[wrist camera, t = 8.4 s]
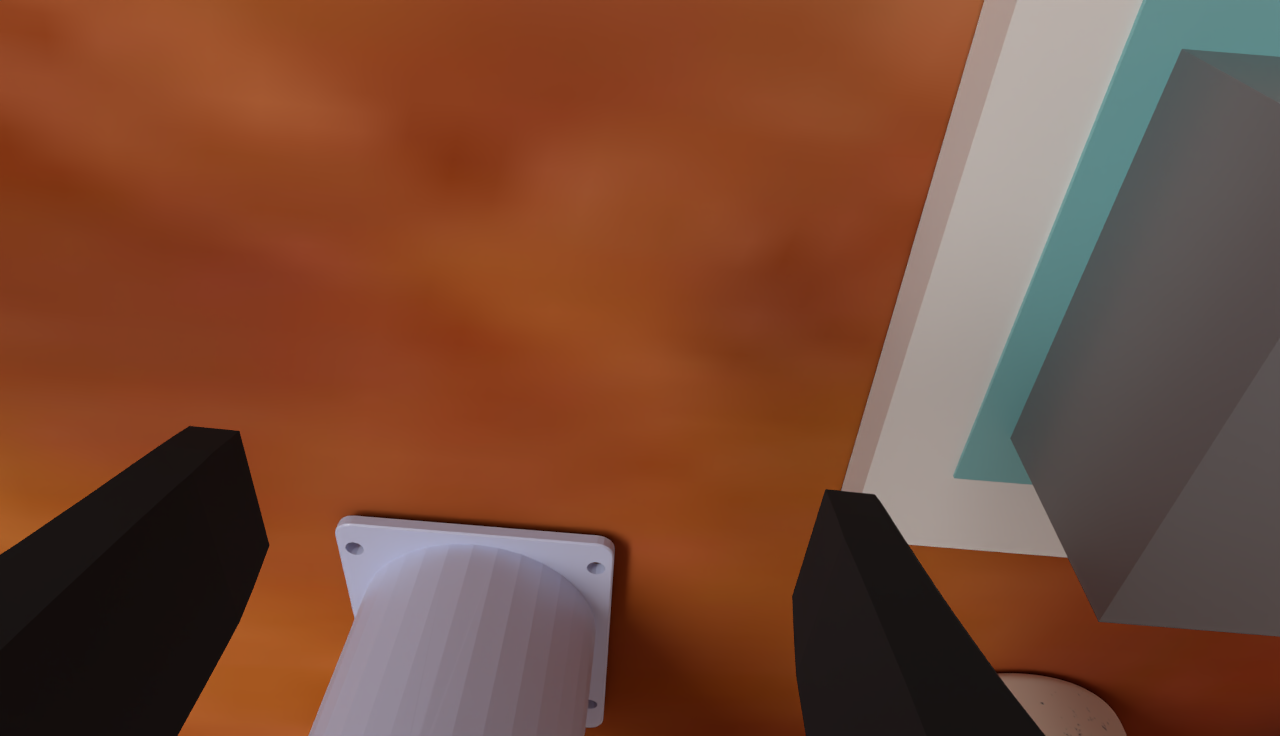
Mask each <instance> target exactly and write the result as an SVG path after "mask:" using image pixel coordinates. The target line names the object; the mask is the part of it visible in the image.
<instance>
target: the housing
mask: <svg viewBox="0 0 1280 736" xmlns="http://www.w3.org/2000/svg"><path fill="white" fill-rule="evenodd" d="M1010 439H1011V441H1012V443H1013V445H1014V447H1015V449H1016V451H1017V453H1018V455H1019V457H1020V460H1021V462H1022V464H1023V466H1024V468H1025V470H1026V472H1027V474H1028V476H1029V478H1030V480H1031V482H1032V484H1033V486H1034V489H1035V491H1036V493H1037V495H1038V497H1039V499H1040V501H1041V503H1042V505H1043V507H1044V509H1045V511H1046V513H1047V515H1048V518H1049V520H1050V522H1051V524H1052V526H1053V528H1054V530H1055V532H1056V534H1057V536H1058V538H1059V540H1060V542H1061V544H1062V547H1063V549H1064V551H1065V553H1066V555H1067V557H1068V559H1069V561H1070V563H1071V565H1072V567H1073V569H1074V571H1075V573H1076V576H1077V578H1078V580H1079V582H1080V584H1081V586H1082V588H1083V590H1084V592H1085V594H1086V596H1087V598H1088V600H1089V602H1090V605H1091V607H1092V609H1093V611H1094V613H1095V615H1096V617H1097V619H1098V621H1099V622H1109V623H1121V624H1133V625H1145V626H1158V627H1170V628H1182V629H1194V630H1206V631H1219V632H1231V633H1243V634H1255V635H1268V636H1280V57H1276V56H1264V55H1251V54H1239V53H1227V52H1214V51H1202V50H1189V49H1182V50H1181V52H1180V54H1179V56H1178V59H1177V61H1176V63H1175V65H1174V68H1173V70H1172V72H1171V74H1170V77H1169V79H1168V81H1167V84H1166V86H1165V88H1164V90H1163V93H1162V95H1161V97H1160V99H1159V102H1158V104H1157V106H1156V109H1155V111H1154V113H1153V115H1152V118H1151V120H1150V122H1149V124H1148V127H1147V129H1146V131H1145V134H1144V136H1143V138H1142V140H1141V143H1140V145H1139V147H1138V149H1137V152H1136V154H1135V156H1134V158H1133V161H1132V163H1131V165H1130V168H1129V170H1128V172H1127V174H1126V177H1125V179H1124V181H1123V183H1122V186H1121V188H1120V190H1119V193H1118V195H1117V197H1116V199H1115V202H1114V204H1113V206H1112V208H1111V211H1110V213H1109V215H1108V217H1107V220H1106V222H1105V224H1104V227H1103V229H1102V231H1101V233H1100V236H1099V238H1098V240H1097V242H1096V245H1095V247H1094V249H1093V252H1092V254H1091V256H1090V258H1089V261H1088V263H1087V265H1086V267H1085V270H1084V272H1083V274H1082V277H1081V279H1080V281H1079V283H1078V286H1077V288H1076V290H1075V292H1074V295H1073V297H1072V299H1071V301H1070V304H1069V306H1068V308H1067V311H1066V313H1065V315H1064V317H1063V320H1062V322H1061V324H1060V326H1059V329H1058V331H1057V333H1056V336H1055V338H1054V340H1053V342H1052V345H1051V347H1050V349H1049V351H1048V354H1047V356H1046V358H1045V360H1044V363H1043V365H1042V367H1041V370H1040V372H1039V374H1038V376H1037V379H1036V381H1035V383H1034V385H1033V388H1032V390H1031V392H1030V395H1029V397H1028V399H1027V401H1026V404H1025V406H1024V408H1023V410H1022V413H1021V415H1020V417H1019V420H1018V422H1017V424H1016V426H1015V429H1014V431H1013V433H1012V435H1011V438H1010Z"/></svg>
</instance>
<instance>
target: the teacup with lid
mask: <svg viewBox="0 0 1280 736" xmlns="http://www.w3.org/2000/svg"><path fill="white" fill-rule="evenodd" d="M997 674H998V675H999V677H1000V678H1001V679H1002V681H1003V682H1004V683H1005V685H1006V686H1007V687H1008V689H1009V690H1010V691H1011V692H1012V694H1013V695H1014V696H1015V698H1016V699H1017V700H1018V701H1019V703H1020V704H1021V705H1022V706H1023V708H1024V709H1025V710H1026V712H1027V713H1028V714H1029V715H1030V717H1031V718H1032V719H1033V720H1034V722H1035V723H1036V724H1037V726H1038V727H1039V728H1040V729H1041V731H1042V732H1043V733H1044V734H1045V736H1127V735H1126V733H1125V731H1124V728H1123V726H1122V724H1121V722H1120V720H1119V719H1118V717H1117V715H1116V714H1115V712H1114V711H1113V710H1112V709H1111V707H1110V706H1109V705H1108V704H1106V703H1105V702H1104V701H1103V700H1102V699H1101V698H1099V697H1098V696H1096V695H1095V694H1094V693H1092V692H1090V691H1088V690H1086V689H1084V688H1082V687H1080V686H1078V685H1075V684H1073V683H1070V682H1067V681H1064V680H1060V679H1056V678H1052V677H1046V676H1041V675H1033V674H1022V673H997Z"/></svg>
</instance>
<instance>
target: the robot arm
mask: <svg viewBox="0 0 1280 736" xmlns="http://www.w3.org/2000/svg"><path fill="white" fill-rule="evenodd" d="M335 535H336V539H337V544H338V548H339V552H340V557H341V561H342V565H343V570H344V574H345V579H346V583H347V587H348V592H349V596H350V600H351V605H352V609H353V613H354V618H355V620H354V622H353V625H352V627H351V630H350V632H349V635H348V638H347V640H346V643H345V645H344V648H343V650H342V653H341V655H340V658H339V660H338V663H337V665H336V668H335V670H334V673H333V675H332V678H331V680H330V683H329V685H328V688H327V690H326V693H325V695H324V698H323V700H322V703H321V705H320V708H319V710H318V713H317V716H316V718H315V721H314V723H313V726H312V728H311V731H310V733H309V736H585V728H586V727H587V728H592V727H597V726H599V725H600V724H602V722H603V716H604V703H605V688H606V673H607V658H608V644H609V629H610V614H611V599H612V584H613V570H614V555H615V547H614V544H613V543H612V541H611V540H609V539H608V538H606V537H603V536H599V535H587V534H575V533H562V532H550V531H538V530H526V529H513V528H501V527H489V526H477V525H464V524H452V523H440V522H428V521H415V520H403V519H391V518H379V517H366V516H346V517H344V518H342V519H341V520H340V521H339V523H338V525H337V528H336V531H335ZM357 543H358V544H357ZM268 548H269V542H268V538H267V535H266V531H265V527H264V523H263V519H262V516H261V512H260V508H259V504H258V500H257V497H256V493H255V489H254V485H253V481H252V478H251V474H250V470H249V466H248V462H247V459H246V455H245V451H244V447H243V443H242V440H241V436H240V432H239V431H234V430H224V429H214V428H204V427H193V426H189V427H187V428H186V429H184V430H183V431H181V432H180V433H178V434H176V435H175V436H173V437H172V438H170V439H169V440H167V441H166V442H164V443H163V444H161V445H160V446H158V447H157V448H156V449H154V450H153V451H151V452H150V453H148V454H147V455H145V456H144V457H142V458H141V459H140V460H138V461H137V462H135V463H134V464H132V465H131V466H130V467H128V468H127V469H125V470H124V471H122V472H121V473H119V474H118V475H117V476H115V477H114V478H112V479H111V480H109V481H108V482H107V483H105V484H104V485H102V486H101V487H99V488H98V489H97V490H95V491H94V492H92V493H91V494H89V495H88V496H87V497H85V498H84V499H82V500H81V501H79V502H78V503H76V504H75V505H73V506H72V507H70V508H69V509H67V510H66V511H65V512H63V513H62V514H60V515H59V516H57V517H56V518H54V519H53V520H51V521H50V522H48V523H47V524H45V525H44V526H43V527H41V528H40V529H38V530H37V531H35V532H34V533H32V534H31V535H29V536H28V537H26V538H25V539H23V540H22V541H21V542H19V543H18V544H16V545H15V546H13V547H12V548H10V549H9V550H7V551H5V552H4V553H2V554H1V555H0V736H178V734H179V732H180V730H181V728H182V726H183V725H184V723H185V721H186V719H187V717H188V716H189V714H190V712H191V710H192V708H193V707H194V705H195V703H196V701H197V699H198V698H199V696H200V694H201V692H202V690H203V688H204V687H205V685H206V683H207V681H208V679H209V678H210V676H211V674H212V672H213V670H214V668H215V666H216V665H217V663H218V661H219V659H220V657H221V655H222V654H223V652H224V650H225V648H226V646H227V644H228V642H229V641H230V639H231V637H232V635H233V633H234V631H235V629H236V627H237V625H238V624H239V622H240V619H241V617H242V614H243V612H244V610H245V607H246V605H247V602H248V600H249V597H250V595H251V593H252V590H253V588H254V585H255V582H256V580H257V577H258V574H259V572H260V569H261V566H262V564H263V561H264V558H265V556H266V553H267V550H268ZM593 562H598V563H599V564H596V563H593ZM792 600H793V624H794V646H795V662H796V677H797V683H798V689H799V696H800V702H801V708H802V714H803V720H804V726H805V732H806V736H1045V734H1044V733H1043V732H1042V731H1041V729H1040V728H1039V727H1038V726H1037V724H1036V723H1035V722H1034V720H1033V719H1032V718H1031V717H1030V715H1029V714H1028V713H1027V712H1026V710H1025V709H1024V708H1023V706H1022V705H1021V704H1020V703H1019V701H1018V700H1017V699H1016V698H1015V696H1014V695H1013V694H1012V692H1011V691H1010V690H1009V689H1008V687H1007V686H1006V685H1005V683H1004V682H1003V681H1002V679H1001V678H1000V677H999V675H998V674H997V673H996V671H995V670H994V669H993V667H992V666H991V665H990V663H989V662H988V661H987V659H986V658H985V656H984V655H983V654H982V652H981V651H980V649H979V648H978V646H977V645H976V644H975V642H974V641H973V639H972V638H971V637H970V635H969V634H968V632H967V631H966V630H965V628H964V627H963V625H962V624H961V623H960V621H959V620H958V618H957V617H956V616H955V614H954V613H953V611H952V610H951V608H950V607H949V606H948V604H947V603H946V601H945V600H944V598H943V597H942V595H941V594H940V592H939V591H938V589H937V588H936V586H935V585H934V583H933V582H932V580H931V579H930V577H929V576H928V574H927V573H926V571H925V570H924V568H923V567H922V565H921V564H920V562H919V561H918V559H917V558H916V556H915V555H914V553H913V551H912V550H911V548H910V547H909V545H908V544H907V542H906V541H905V539H904V537H903V536H902V534H901V533H900V531H899V530H898V528H897V526H896V525H895V523H894V522H893V520H892V519H891V517H890V515H889V514H888V512H887V511H886V509H885V508H884V506H883V504H882V503H881V502H880V500H879V499H878V498H877V496H876V495H875V494H867V493H857V492H847V491H837V490H827V489H826V490H825V493H824V496H823V499H822V503H821V506H820V509H819V512H818V515H817V519H816V522H815V525H814V528H813V531H812V535H811V538H810V541H809V544H808V548H807V551H806V554H805V557H804V560H803V564H802V567H801V570H800V573H799V577H798V580H797V583H796V586H795V589H794V593H793V596H792Z"/></svg>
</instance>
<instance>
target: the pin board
mask: <svg viewBox="0 0 1280 736" xmlns="http://www.w3.org/2000/svg"><path fill="white" fill-rule="evenodd" d="M1182 49H1189V50H1202V51H1214V52H1227V53H1239V54H1251V55H1264V56H1276V57H1280V0H984V4H983V7H982V11H981V14H980V17H979V21H978V24H977V28H976V31H975V35H974V38H973V41H972V45H971V48H970V52H969V55H968V58H967V62H966V65H965V69H964V72H963V76H962V79H961V82H960V86H959V89H958V93H957V96H956V99H955V103H954V106H953V110H952V113H951V117H950V120H949V123H948V127H947V130H946V134H945V137H944V140H943V144H942V147H941V151H940V154H939V158H938V161H937V164H936V168H935V171H934V175H933V178H932V182H931V185H930V188H929V192H928V195H927V199H926V202H925V205H924V209H923V212H922V216H921V219H920V223H919V226H918V229H917V233H916V236H915V240H914V243H913V246H912V250H911V253H910V257H909V260H908V264H907V267H906V270H905V274H904V277H903V281H902V284H901V287H900V291H899V294H898V298H897V301H896V305H895V308H894V311H893V315H892V318H891V322H890V325H889V329H888V332H887V335H886V339H885V342H884V346H883V349H882V352H881V356H880V359H879V363H878V366H877V370H876V373H875V376H874V380H873V383H872V387H871V390H870V393H869V397H868V400H867V404H866V407H865V411H864V414H863V417H862V421H861V424H860V428H859V431H858V435H857V438H856V441H855V445H854V448H853V452H852V455H851V458H850V462H849V465H848V469H847V472H846V476H845V479H844V482H843V486H842V489H841V491H847V492H857V493H867V494H875V495H876V496H877V498H878V499H879V500H880V502H881V503H882V504H883V506H884V508H885V509H886V511H887V512H888V514H889V515H890V517H891V519H892V520H893V522H894V523H895V525H896V526H897V528H898V530H899V531H900V533H901V534H902V536H903V537H904V539H905V541H906V542H907V544H908V545H920V546H932V547H944V548H957V549H969V550H981V551H993V552H1006V553H1018V554H1030V555H1042V556H1055V557H1067V555H1066V553H1065V551H1064V549H1063V547H1062V544H1061V542H1060V540H1059V538H1058V536H1057V534H1056V532H1055V530H1054V528H1053V526H1052V524H1051V522H1050V520H1049V518H1048V515H1047V513H1046V511H1045V509H1044V507H1043V505H1042V503H1041V501H1040V499H1039V497H1038V495H1037V493H1036V491H1035V489H1034V486H1033V484H1032V482H1031V480H1030V478H1029V476H1028V474H1027V472H1026V470H1025V468H1024V466H1023V464H1022V462H1021V460H1020V457H1019V455H1018V453H1017V451H1016V449H1015V447H1014V445H1013V443H1012V441H1011V439H1010V438H1011V435H1012V433H1013V431H1014V429H1015V426H1016V424H1017V422H1018V420H1019V417H1020V415H1021V413H1022V410H1023V408H1024V406H1025V404H1026V401H1027V399H1028V397H1029V395H1030V392H1031V390H1032V388H1033V385H1034V383H1035V381H1036V379H1037V376H1038V374H1039V372H1040V370H1041V367H1042V365H1043V363H1044V360H1045V358H1046V356H1047V354H1048V351H1049V349H1050V347H1051V345H1052V342H1053V340H1054V338H1055V336H1056V333H1057V331H1058V329H1059V326H1060V324H1061V322H1062V320H1063V317H1064V315H1065V313H1066V311H1067V308H1068V306H1069V304H1070V301H1071V299H1072V297H1073V295H1074V292H1075V290H1076V288H1077V286H1078V283H1079V281H1080V279H1081V277H1082V274H1083V272H1084V270H1085V267H1086V265H1087V263H1088V261H1089V258H1090V256H1091V254H1092V252H1093V249H1094V247H1095V245H1096V242H1097V240H1098V238H1099V236H1100V233H1101V231H1102V229H1103V227H1104V224H1105V222H1106V220H1107V217H1108V215H1109V213H1110V211H1111V208H1112V206H1113V204H1114V202H1115V199H1116V197H1117V195H1118V193H1119V190H1120V188H1121V186H1122V183H1123V181H1124V179H1125V177H1126V174H1127V172H1128V170H1129V168H1130V165H1131V163H1132V161H1133V158H1134V156H1135V154H1136V152H1137V149H1138V147H1139V145H1140V143H1141V140H1142V138H1143V136H1144V134H1145V131H1146V129H1147V127H1148V124H1149V122H1150V120H1151V118H1152V115H1153V113H1154V111H1155V109H1156V106H1157V104H1158V102H1159V99H1160V97H1161V95H1162V93H1163V90H1164V88H1165V86H1166V84H1167V81H1168V79H1169V77H1170V74H1171V72H1172V70H1173V68H1174V65H1175V63H1176V61H1177V59H1178V56H1179V54H1180V52H1181V50H1182ZM1067 558H1068V557H1067Z"/></svg>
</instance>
